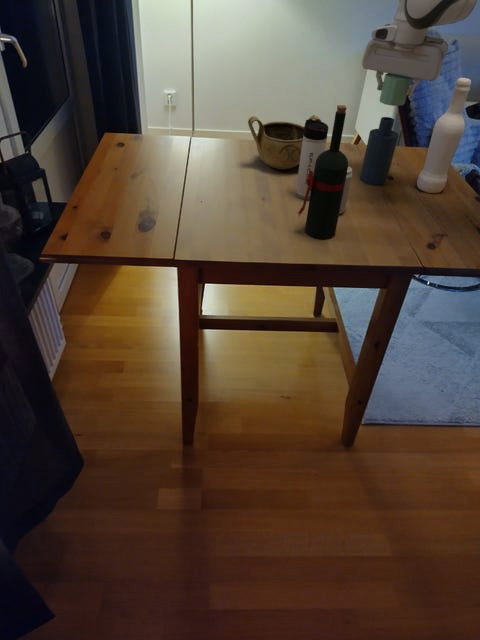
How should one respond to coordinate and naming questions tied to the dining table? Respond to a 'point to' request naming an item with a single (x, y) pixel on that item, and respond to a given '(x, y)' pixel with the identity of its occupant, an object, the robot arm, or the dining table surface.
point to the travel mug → (310, 153)
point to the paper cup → (394, 89)
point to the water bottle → (379, 153)
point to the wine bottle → (327, 185)
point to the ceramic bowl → (279, 142)
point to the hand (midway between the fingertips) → (394, 92)
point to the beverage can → (346, 190)
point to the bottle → (444, 141)
